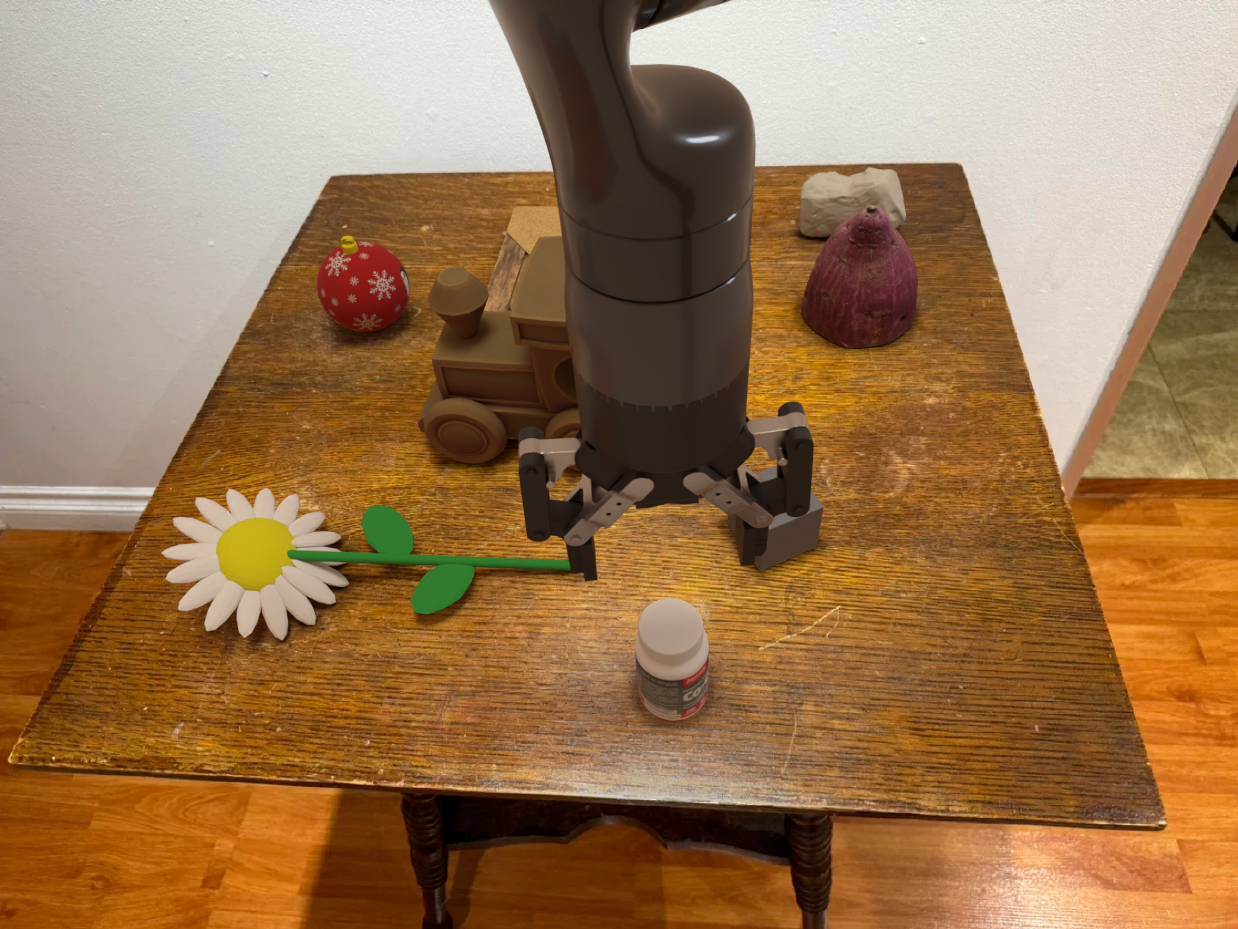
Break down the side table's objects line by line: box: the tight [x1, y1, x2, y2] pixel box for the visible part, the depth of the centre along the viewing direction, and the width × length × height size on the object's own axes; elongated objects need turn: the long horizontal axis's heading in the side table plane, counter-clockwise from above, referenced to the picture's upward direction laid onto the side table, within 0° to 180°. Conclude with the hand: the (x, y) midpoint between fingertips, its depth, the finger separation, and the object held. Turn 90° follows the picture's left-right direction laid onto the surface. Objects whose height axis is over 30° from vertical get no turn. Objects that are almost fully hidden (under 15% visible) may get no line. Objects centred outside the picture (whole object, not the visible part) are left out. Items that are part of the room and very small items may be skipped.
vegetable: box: [800, 205, 919, 349], centre depth 80 cm, size 10×10×15 cm
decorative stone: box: [799, 166, 907, 238], centre depth 92 cm, size 11×9×10 cm
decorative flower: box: [160, 487, 573, 641], centre depth 67 cm, size 13×5×30 cm
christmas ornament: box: [316, 235, 410, 333], centre depth 85 cm, size 9×9×10 cm
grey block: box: [727, 464, 825, 572], centre depth 67 cm, size 5×5×5 cm
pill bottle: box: [634, 597, 710, 722], centre depth 57 cm, size 5×5×8 cm
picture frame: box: [484, 205, 562, 312], centre depth 90 cm, size 19×2×24 cm
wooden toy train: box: [417, 236, 581, 472], centre depth 71 cm, size 20×11×17 cm, turn 81°
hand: (667, 560), depth 49 cm, fingers open, 8 cm apart
